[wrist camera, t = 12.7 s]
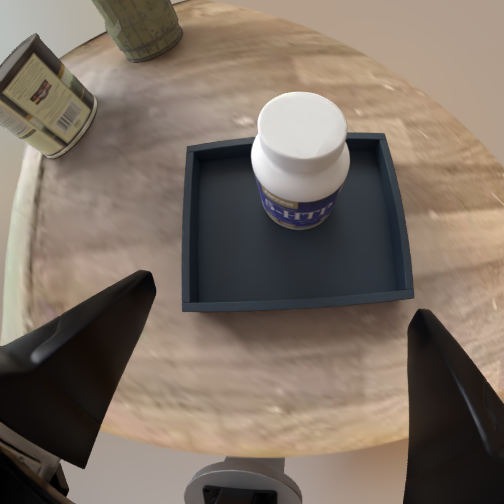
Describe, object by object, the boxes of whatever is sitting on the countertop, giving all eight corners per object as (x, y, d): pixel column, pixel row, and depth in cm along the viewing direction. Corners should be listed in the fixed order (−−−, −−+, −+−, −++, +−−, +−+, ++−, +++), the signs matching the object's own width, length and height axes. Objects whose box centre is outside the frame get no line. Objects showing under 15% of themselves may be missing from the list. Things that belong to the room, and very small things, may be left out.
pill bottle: (260, 231, 19) (236, 174, 11) (263, 164, 20) (244, 83, 12) (336, 232, 18) (369, 176, 10) (332, 165, 19) (351, 84, 11)
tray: (398, 299, 18) (414, 298, 15) (196, 311, 20) (181, 311, 17) (376, 151, 20) (384, 133, 17) (197, 162, 22) (186, 146, 19)
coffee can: (59, 106, 28) (5, 56, 15) (108, 86, 27) (52, 19, 13) (34, 165, 26) (-35, 121, 13) (81, 151, 25) (0, 87, 11)
